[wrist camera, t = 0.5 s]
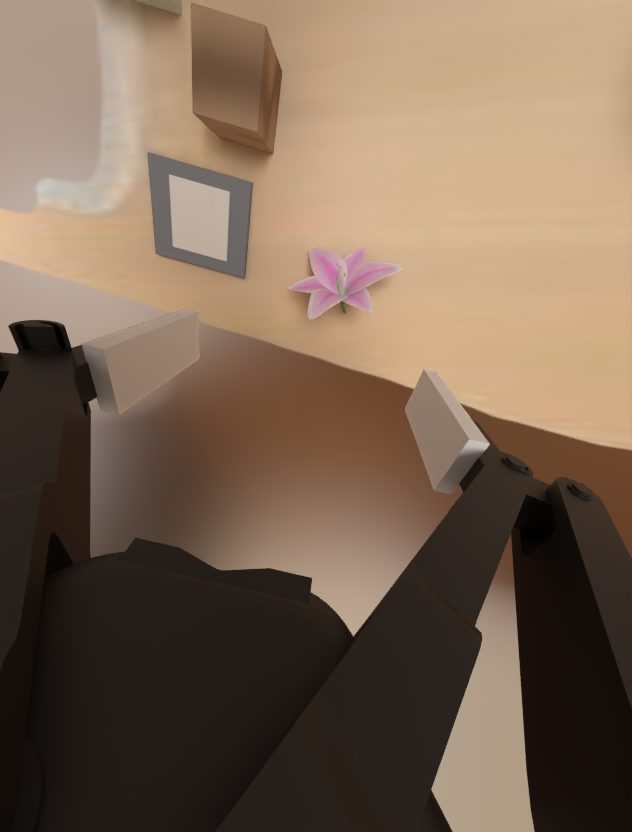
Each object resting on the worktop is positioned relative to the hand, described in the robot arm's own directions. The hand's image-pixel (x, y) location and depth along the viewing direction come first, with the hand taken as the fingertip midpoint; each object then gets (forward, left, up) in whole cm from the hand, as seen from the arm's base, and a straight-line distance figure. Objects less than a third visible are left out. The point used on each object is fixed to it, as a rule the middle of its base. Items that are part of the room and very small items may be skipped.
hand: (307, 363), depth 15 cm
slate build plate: (-5, -18, -25) cm, 31 cm away
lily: (-3, +1, -25) cm, 25 cm away
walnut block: (-16, -13, -25) cm, 32 cm away
